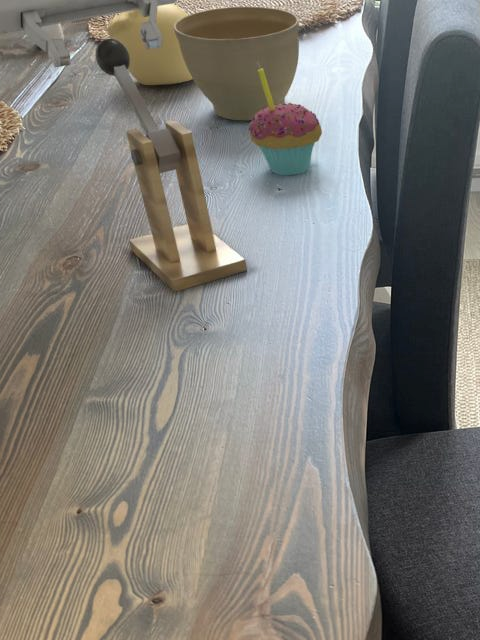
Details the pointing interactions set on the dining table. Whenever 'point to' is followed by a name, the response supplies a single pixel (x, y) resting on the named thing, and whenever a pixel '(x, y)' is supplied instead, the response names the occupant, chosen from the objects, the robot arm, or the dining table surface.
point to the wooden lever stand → (187, 240)
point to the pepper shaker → (54, 31)
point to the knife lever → (137, 102)
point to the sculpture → (156, 62)
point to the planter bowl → (240, 56)
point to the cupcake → (284, 134)
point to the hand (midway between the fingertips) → (110, 53)
